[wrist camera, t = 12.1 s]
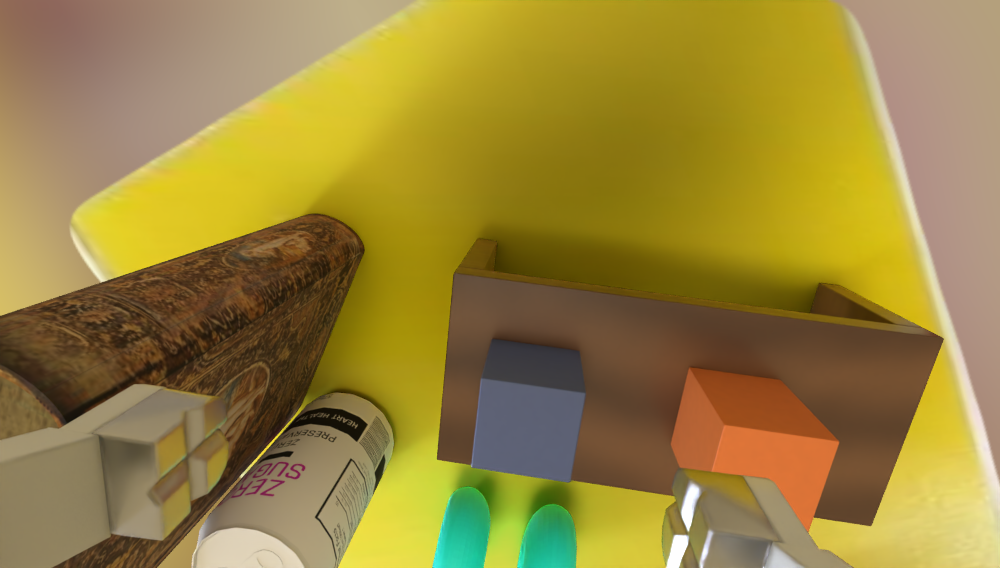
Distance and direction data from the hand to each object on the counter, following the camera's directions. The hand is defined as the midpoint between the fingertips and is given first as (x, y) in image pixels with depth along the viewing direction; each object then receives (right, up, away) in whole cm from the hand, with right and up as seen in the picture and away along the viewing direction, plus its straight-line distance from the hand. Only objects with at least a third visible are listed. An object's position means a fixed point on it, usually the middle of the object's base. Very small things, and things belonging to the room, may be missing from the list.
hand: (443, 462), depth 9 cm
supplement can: (-12, -9, +34) cm, 37 cm away
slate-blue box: (+3, -3, +20) cm, 21 cm away
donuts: (+2, -17, +35) cm, 39 cm away
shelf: (+12, -1, +30) cm, 32 cm away
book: (-15, +1, +32) cm, 35 cm away
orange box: (+14, -4, +20) cm, 24 cm away
